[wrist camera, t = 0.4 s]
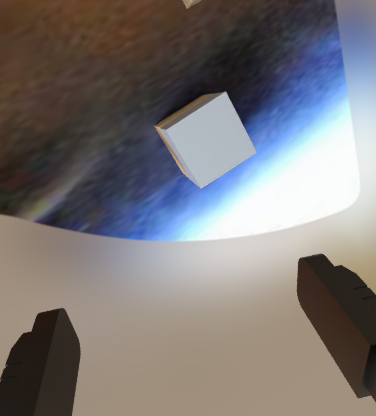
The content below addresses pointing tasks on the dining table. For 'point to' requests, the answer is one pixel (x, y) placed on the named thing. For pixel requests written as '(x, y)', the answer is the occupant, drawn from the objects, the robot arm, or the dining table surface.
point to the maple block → (190, 2)
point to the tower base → (172, 119)
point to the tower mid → (208, 139)
